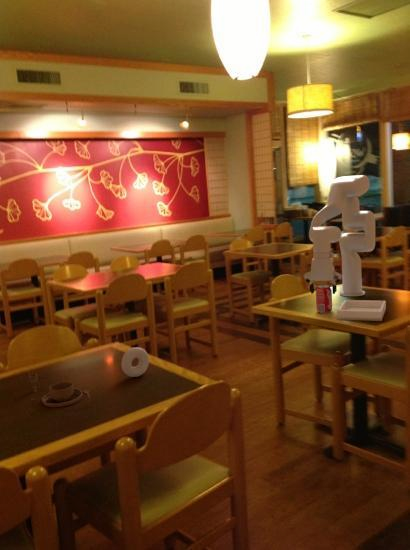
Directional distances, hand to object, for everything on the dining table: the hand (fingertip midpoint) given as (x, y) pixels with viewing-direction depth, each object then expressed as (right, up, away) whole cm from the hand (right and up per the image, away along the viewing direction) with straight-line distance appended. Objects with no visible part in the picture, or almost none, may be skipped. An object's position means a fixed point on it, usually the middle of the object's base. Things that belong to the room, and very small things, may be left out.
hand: (323, 293), depth 241 cm
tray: (+15, -9, -8) cm, 19 cm away
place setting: (-98, -30, -76) cm, 127 cm away
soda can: (+1, -9, +2) cm, 9 cm away
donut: (-76, -26, -64) cm, 103 cm away
